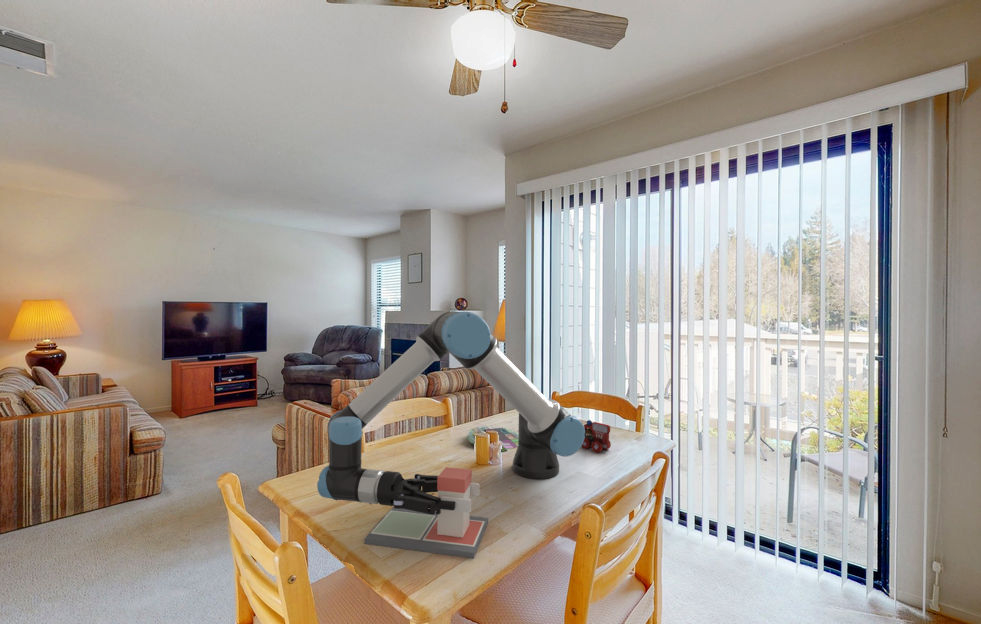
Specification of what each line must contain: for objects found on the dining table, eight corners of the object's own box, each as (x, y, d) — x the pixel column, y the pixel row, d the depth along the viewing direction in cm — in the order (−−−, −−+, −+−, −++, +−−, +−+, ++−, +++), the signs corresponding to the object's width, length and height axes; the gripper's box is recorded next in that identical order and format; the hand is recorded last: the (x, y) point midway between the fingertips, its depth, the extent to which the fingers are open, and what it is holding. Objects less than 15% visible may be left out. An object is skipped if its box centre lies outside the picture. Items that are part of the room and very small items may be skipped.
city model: (496, 464, 149) (499, 448, 148) (451, 441, 164) (452, 426, 164) (537, 448, 168) (539, 433, 167) (493, 429, 183) (494, 415, 182)
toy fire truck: (586, 442, 167) (587, 416, 167) (614, 451, 158) (615, 423, 158) (575, 446, 163) (576, 419, 163) (603, 455, 153) (604, 426, 153)
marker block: (470, 524, 101) (471, 469, 101) (463, 538, 95) (464, 479, 95) (444, 521, 102) (445, 467, 102) (436, 534, 96) (437, 476, 96)
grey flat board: (487, 522, 105) (488, 517, 104) (473, 558, 90) (473, 551, 90) (392, 511, 109) (392, 506, 109) (364, 543, 95) (364, 537, 95)
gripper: (399, 485, 112) (484, 494, 107) (360, 524, 92) (463, 537, 87) (399, 456, 112) (484, 464, 107) (361, 490, 92) (463, 501, 87)
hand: (474, 497), depth 97 cm, fingers open, 8 cm apart
